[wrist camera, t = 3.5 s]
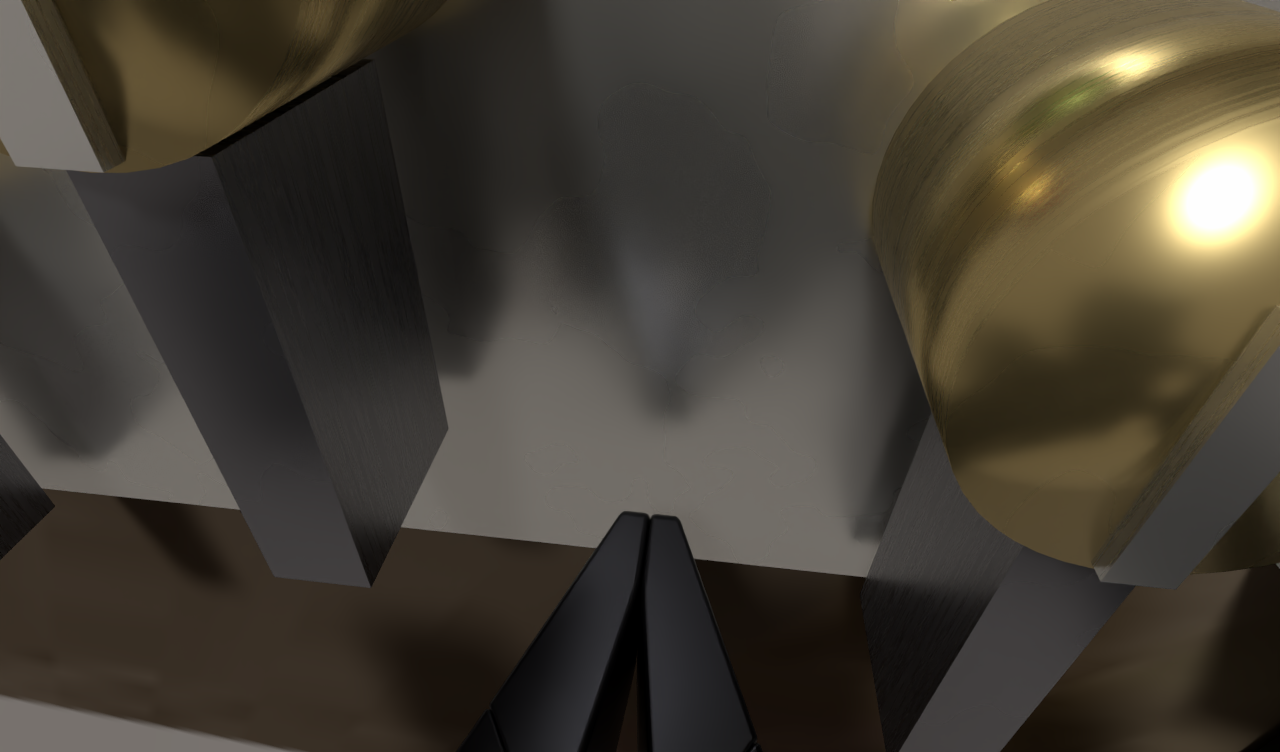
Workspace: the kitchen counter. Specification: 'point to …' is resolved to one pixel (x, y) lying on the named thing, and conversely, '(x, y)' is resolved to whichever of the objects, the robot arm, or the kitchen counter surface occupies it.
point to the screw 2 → (1075, 345)
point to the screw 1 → (18, 500)
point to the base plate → (579, 279)
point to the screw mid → (252, 241)
